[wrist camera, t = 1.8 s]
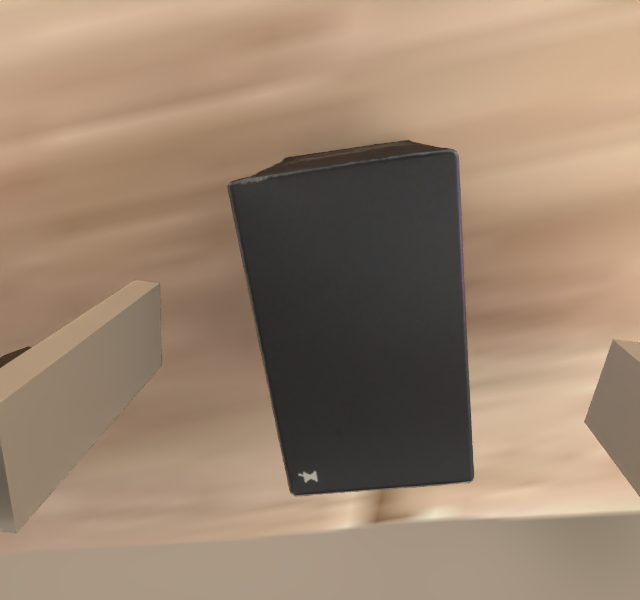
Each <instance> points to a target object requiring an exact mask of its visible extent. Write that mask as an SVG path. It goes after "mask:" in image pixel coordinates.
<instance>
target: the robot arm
mask: <svg viewBox="0 0 640 600" xmlns="http://www.w3.org/2000/svg"><path fill="white" fill-rule="evenodd" d="M161 365H162V355H161V312H160V283H156V282H148V281H140V280H134V281H132V282H131V283H129V284H128V285H126V286H125V287H123V288H122V289H120V290H119V291H117V292H116V293H114V294H112V295H111V296H109V297H108V298H106V299H105V300H103V301H102V302H100V303H99V304H97V305H96V306H94V307H93V308H91V309H90V310H88V311H87V312H85V313H84V314H82V315H80V316H79V317H77V318H76V319H74V320H73V321H71V322H70V323H68V324H67V325H65V326H64V327H62V328H61V329H59V330H58V331H56V332H55V333H53V334H52V335H50V336H48V337H47V338H45V339H44V340H42V341H41V342H39V343H38V344H36V345H35V346H33V347H26V348H23V349H20V350H18V351H15V352H12V353H9V354H6V355H4V356H2V357H1V358H0V531H4V532H10V533H17V532H18V531H19V530H20V529H21V527H22V526H23V525H24V524H25V523H26V522H27V521H28V519H29V518H30V517H31V516H32V515H33V514H34V512H35V511H36V510H37V509H38V508H39V507H40V505H41V504H42V503H43V502H44V501H45V500H46V499H47V497H48V496H49V495H50V494H51V493H52V492H53V490H54V489H55V488H56V487H57V486H58V485H59V483H60V482H61V481H62V480H63V479H64V478H65V477H66V475H67V474H68V473H69V472H70V471H71V470H72V468H73V467H74V466H75V465H76V464H77V463H78V461H79V460H80V459H81V458H82V457H83V456H84V455H85V453H86V452H87V451H88V450H89V449H90V448H91V446H92V445H93V444H94V443H95V442H96V441H97V439H98V438H99V437H100V436H101V435H102V434H103V433H104V431H105V430H106V429H107V428H108V427H109V426H110V424H111V423H112V422H113V421H114V420H115V419H116V417H117V416H118V415H119V414H120V413H121V412H122V411H123V409H124V408H125V407H126V406H127V405H128V404H129V402H130V401H131V400H132V399H133V398H134V397H135V395H136V394H137V393H138V392H139V391H140V390H141V389H142V387H143V386H144V385H145V384H146V383H147V382H148V380H149V379H150V378H151V377H152V376H153V375H154V373H155V372H156V371H157V370H158V369H159V368H160V367H161ZM584 422H585V423H586V425H587V426H588V427H589V429H590V430H591V431H592V433H593V434H594V436H595V437H596V438H597V440H598V441H599V442H600V444H601V445H602V446H603V448H604V449H605V450H606V452H607V453H608V454H609V456H610V457H611V459H612V460H613V461H614V463H615V464H616V465H617V467H618V468H619V469H620V471H621V472H622V473H623V475H624V476H625V477H626V479H627V480H628V482H629V483H630V484H631V486H632V487H633V488H634V490H635V491H636V492H637V494H638V495H639V496H640V343H638V342H630V341H622V340H614V339H613V341H612V344H611V347H610V350H609V352H608V355H607V358H606V361H605V364H604V367H603V370H602V372H601V375H600V378H599V381H598V384H597V387H596V390H595V393H594V395H593V398H592V401H591V404H590V407H589V410H588V413H587V416H586V418H585V421H584Z"/></svg>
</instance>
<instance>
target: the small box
mask: <svg viewBox="0 0 640 600" xmlns="http://www.w3.org/2000/svg"><path fill="white" fill-rule="evenodd" d="M228 193H229V197H230V202H231V207H232V212H233V217H234V222H235V227H236V231H237V236H238V241H239V246H240V252H241V257H242V262H243V267H244V271H245V275H246V280H247V285H248V291H249V296H250V301H251V305H252V310H253V315H254V320H255V325H256V331H257V336H258V341H259V346H260V350H261V355H262V360H263V365H264V369H265V373H266V379H267V384H268V387H269V391H270V397H271V403H272V408H273V413H274V417H275V422H276V428H277V433H278V438H279V442H280V447H281V452H282V456H283V462H284V465H285V470H286V475H287V480H288V486H289V490H290V493H291V494H292V495H294V496H309V495H320V494H331V493H343V492H359V491H369V490H383V489H396V488H408V487H425V486H437V485H447V484H458V483H470V482H472V481H473V478H474V465H473V447H472V428H471V408H470V389H469V370H468V351H467V330H466V309H465V287H464V265H463V243H462V219H461V195H460V175H459V156H458V153H457V151H455V150H453V149H448V148H440V147H434V146H430V145H424V144H420V143H416V142H411V141H409V140H408V141H399V142H391V143H384V144H375V145H370V146H363V147H355V148H349V149H342V150H336V151H329V152H322V153H314V154H308V155H301V156H295V157H288V158H285V159H284V160H283V161H282V162H281V163H279V164H276V165H274V166H272V167H270V168H267V169H265V170H263V171H261V172H259V173H257V174H256V175H253V176H251V177H246V178H242V179H238V180H235V181H232V182H231V183H229V185H228Z"/></svg>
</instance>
